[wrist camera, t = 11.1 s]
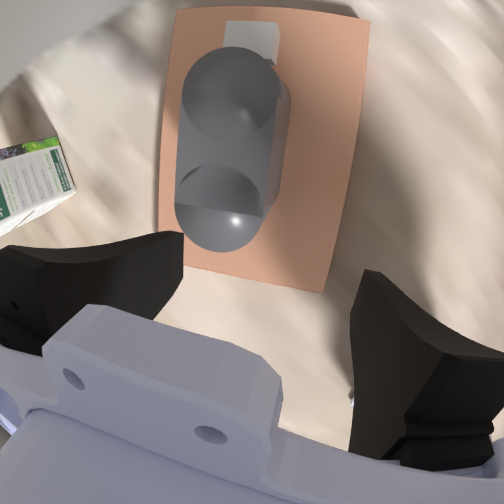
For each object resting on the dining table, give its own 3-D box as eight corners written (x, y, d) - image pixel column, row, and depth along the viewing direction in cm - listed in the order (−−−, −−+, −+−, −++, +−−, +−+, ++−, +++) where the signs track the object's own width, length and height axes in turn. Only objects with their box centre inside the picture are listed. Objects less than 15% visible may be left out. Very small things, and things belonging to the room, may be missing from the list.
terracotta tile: (322, 283, 22) (322, 293, 20) (167, 251, 23) (158, 259, 22) (366, 28, 14) (370, 21, 13) (186, 15, 16) (177, 9, 14)
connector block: (275, 219, 19) (256, 260, 13) (213, 208, 19) (173, 243, 14) (298, 44, 14) (289, 7, 9) (231, 39, 15) (194, 7, 9)
